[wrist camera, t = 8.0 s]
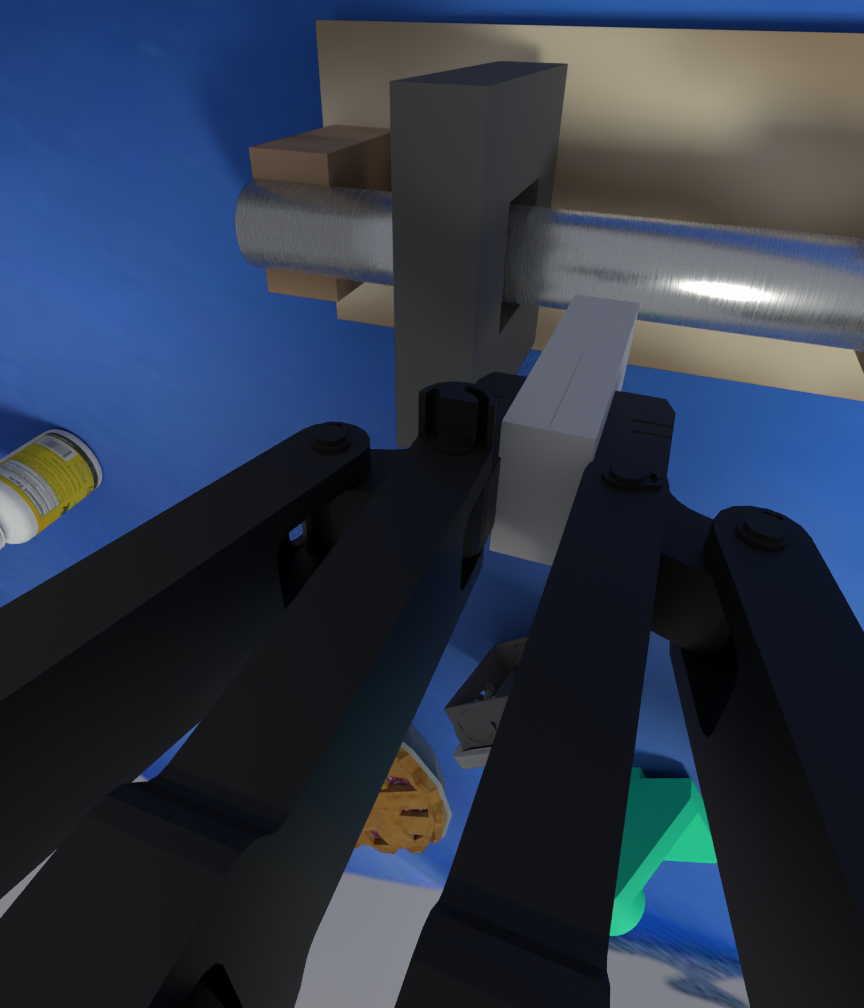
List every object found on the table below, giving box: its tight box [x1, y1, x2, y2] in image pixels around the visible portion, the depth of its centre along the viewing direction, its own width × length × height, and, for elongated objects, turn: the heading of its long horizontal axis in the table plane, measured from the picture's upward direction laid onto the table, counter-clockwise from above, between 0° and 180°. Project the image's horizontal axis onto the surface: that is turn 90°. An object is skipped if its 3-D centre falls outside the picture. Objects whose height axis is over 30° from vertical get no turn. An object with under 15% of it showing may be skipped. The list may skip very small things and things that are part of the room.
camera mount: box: [610, 767, 717, 936], centre depth 46 cm, size 12×8×10 cm, turn 121°
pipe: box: [235, 179, 864, 351], centre depth 21 cm, size 3×24×3 cm, turn 89°
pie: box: [355, 724, 452, 854], centre depth 58 cm, size 22×22×5 cm
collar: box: [389, 61, 568, 448], centre depth 21 cm, size 10×2×10 cm, turn 179°
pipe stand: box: [249, 20, 864, 401], centre depth 24 cm, size 12×25×8 cm, turn 89°
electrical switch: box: [444, 636, 528, 769], centre depth 39 cm, size 9×5×9 cm, turn 128°
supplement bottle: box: [0, 429, 102, 549], centre depth 45 cm, size 5×5×10 cm
